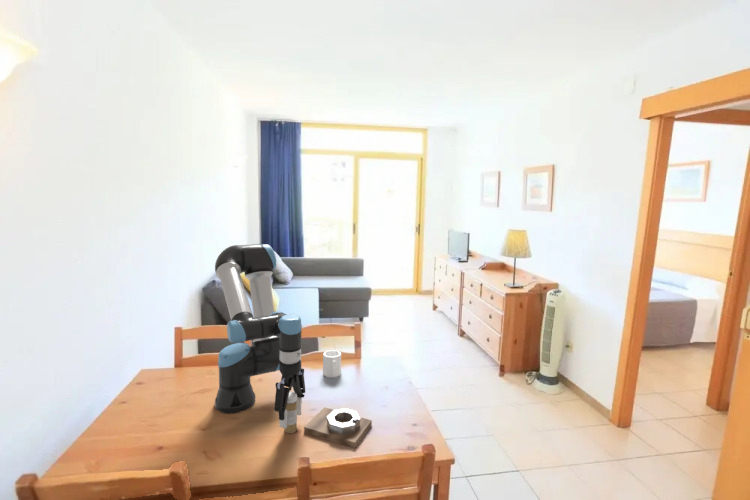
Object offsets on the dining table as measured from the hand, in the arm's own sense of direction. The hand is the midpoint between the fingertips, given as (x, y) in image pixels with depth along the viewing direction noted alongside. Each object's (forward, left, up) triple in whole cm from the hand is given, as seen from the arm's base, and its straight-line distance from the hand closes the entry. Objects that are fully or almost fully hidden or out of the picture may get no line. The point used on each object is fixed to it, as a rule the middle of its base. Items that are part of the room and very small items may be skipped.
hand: (290, 420), depth 137 cm
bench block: (+15, +8, -4) cm, 17 cm away
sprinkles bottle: (0, 0, -4) cm, 4 cm away
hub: (+17, +8, -2) cm, 19 cm away
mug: (-7, +43, -4) cm, 44 cm away
